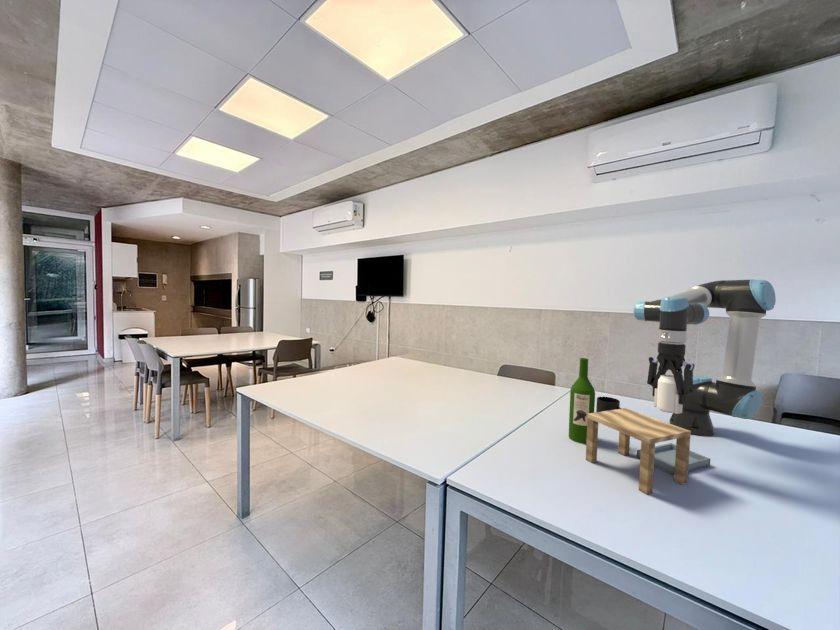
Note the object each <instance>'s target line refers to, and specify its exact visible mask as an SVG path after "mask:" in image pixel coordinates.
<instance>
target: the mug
mask: <svg viewBox="0 0 840 630" xmlns="http://www.w3.org/2000/svg"><path fill="white" fill-rule="evenodd" d="M620 405H621V403H620V400H619V399H617V398H614V397H612V396H611V397H610V396H598V397H596V405H595V406H596V410H595V413H596V412H603V411H609V410H616V409H622V407H620Z"/></svg>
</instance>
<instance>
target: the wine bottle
mask: <svg viewBox="0 0 840 630" xmlns="http://www.w3.org/2000/svg"><path fill="white" fill-rule="evenodd" d="M595 403H596V392H595V388H594V386H593V384H592V383H591V382H590V380H589V359H588V358H584V357H580V358H579V367H578V378H577V379H576V380H575V381H574V383H573V384H572V385H571V387H570V392H569V418H568V419H569V420H568V438H569V439H570V440H571V441H573V442H576V443H579V444H586V442H587V420H588V414H589V413H595V406H596V405H595Z"/></svg>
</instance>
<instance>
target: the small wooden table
mask: <svg viewBox="0 0 840 630" xmlns="http://www.w3.org/2000/svg"><path fill="white" fill-rule="evenodd" d="M599 424H600V425H603V426H605V427H608V428H609V429H612V430H614V431H617V432H618V433H619V434H618V452H617V453H618V454H620V455H622V456H624V457H625V456H629V455H630V445H631V443H630V440H631V438H634V439H635V440H638V441H641V443H640V449H641V457H640V458H639V460H640V461H639V476H638V477H639V479H638V480H639V481H638V491H639V492H641V493H643V494H644V495H649V494H650V495H651V494H653V486H654V485H653V484H654V471H655V469H654V454H655V446H656V444H658V443H664V442H668V441H673V440H676V441H675V442H676V443H675V445H676V457H675V473H674V475H673V481H674V482H676V483H678V484H680V485H686V484H688V481H689V480H688V478H689V472H688V466H689V451H691V449H690V447H691V435H692V434H691V431H689V430H686V429H683V428H680V427H678V426H675V425H672V424H669V422H666V421H663V420H661V419H658V418H655V417H651V416H650V415H646V414H644V413H640V412H637V411H635V410H632V409H628V408H627V407H624V408H621V409H616V410H609V411H603V412H596V411H595V412H594V413H589V414H588V420H587V442H586V443H585V446H586V447H585V449H586V450H585V460H586V461H588V462H589V463H591V464H592V463H593V464H594V463H597V460H598V459H597V458H598V439H599Z"/></svg>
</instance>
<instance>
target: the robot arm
mask: <svg viewBox="0 0 840 630" xmlns="http://www.w3.org/2000/svg"><path fill="white" fill-rule="evenodd" d="M776 299H777V298H776V293H775V289H774V287H773V285H772V284H771V282H769V281H768V280H765V279H731V280H730V279H729V280H714V281H709V282H704V283H702V284H699V285H698V284H697V285H695V286H692V287H690V288H688V289H687V290H686V291H684V292H680V293H677V294H673V295H670V296H663V297H662V298H660V299H656V300H652V301H651V300H650V301H647V300H646V301H645V300H644V301H638V302H636V303H635V304H634V307H633V316H634V318H635V319H636V320H638V321H644V322H656V323H659V327H658V341H659V342H657V356H650V357H648V363H649V366H648V375H647V385H648V386H651V387H652V397H654V398H653V407H654V408H657V390H658V379H659V378H660V377H661V375H667V374H666V373H667V372H668V371H671V373H672V374H671V375H673V376H674V379H675V383H676V386H677V390H678V393H677V394H675V410H674V413H671V415H670V418H669V422H668V423H669V424H672V425H675V426H678V427H680V428H683V429H686V430H689V431H691V435H695V436H700V437H701V436H704V437H705V436H706V437H708V436H713V435H714V431H715V428H714V424H713V421H712V419H711V415H710V412H711V411H712V412H716V413H718V414H723V415H725V416H726V415H727V416H731V417H732V418H738V419H742V420H743V419H744V420H750V419H752V418H754V417H755V416H756V414H757V413H758V412H759V410H760V408H761V406H762V403H763V394H762V393H761V392H760V391H759V390H756V389H757V385H756V384H755V383H754V382H753V381H752V379H753V378H752V377H753V370H754V364H755V363H754V362H755V357H756V356H755V355H756V349H757V341H758V335H759V327H760V320H761V319H762V318H763V317H765V316H767V311H768V312H769V311H771V310H773V309H774V308H775V305H776ZM709 308H712V309H713V308H714V309H725V314H726V315H727V316H729V321H728V329H727V335H726V336H727V337H726V342H725V343H726V344H725V352H724V356H723V358H724V359H723V365H722V372H721V373H722V374H721V376H719V377H717V378H716V379H715V382H714V381H713V378H712V377H710V376H709V377H708V376H704V375H703V376H702V375H694V369H695V367H696V366H695V364H694V363H689V362H687V361H686V358H685V355H686V344H685V343H687V328H688V325H694V326H695V325H700V324H703V323H705V322H706V321H707V320H708V319H709V318H710V309H709ZM658 363H659V365H658ZM682 367H683V368H682Z"/></svg>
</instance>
